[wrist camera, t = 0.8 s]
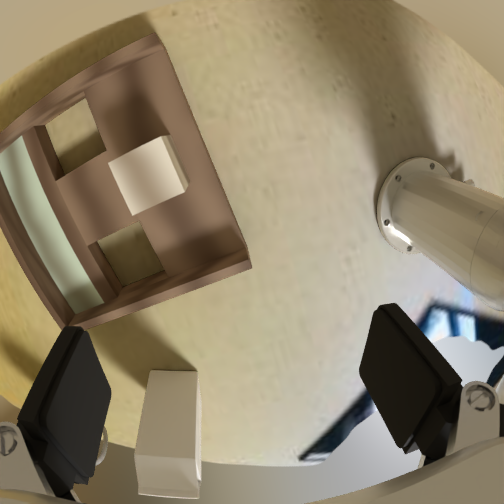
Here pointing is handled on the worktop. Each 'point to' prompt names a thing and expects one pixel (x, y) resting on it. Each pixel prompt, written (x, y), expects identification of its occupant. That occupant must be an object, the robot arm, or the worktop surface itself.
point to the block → (150, 174)
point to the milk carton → (170, 436)
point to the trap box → (114, 194)
